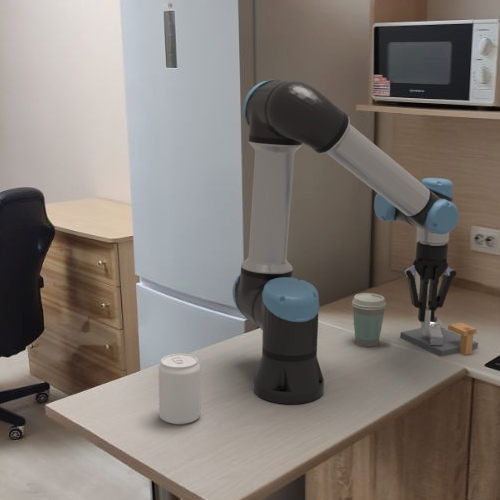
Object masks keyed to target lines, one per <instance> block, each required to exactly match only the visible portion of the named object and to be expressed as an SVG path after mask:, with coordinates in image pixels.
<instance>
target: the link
mask: <svg viewBox="0 0 500 500" xmlns="http://www.w3.org/2000/svg"><path fill="white" fill-rule="evenodd" d="M442 328H443V320H442V319H440V318H438V316H436V315H434V321H433V322H430V329H429V335H428V338H429V343H430V345H442V346H443V335H442Z"/></svg>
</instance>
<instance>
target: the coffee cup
mask: <svg viewBox="0 0 500 500" xmlns="http://www.w3.org/2000/svg"><path fill="white" fill-rule="evenodd" d="M351 302H352V303H351V306H352V311H353V312H352V315H353V327H354V328H353V329H354V340H355V344H356V345H357V346H361V347H367V348H373V347H376V346H379V342H380V337H381V333H382V326H383V322H384V321H383V320H384V316H385V308H387V303H386V299H385V296H383V295H381V294H377V293H372V292H365V293H357V294H355V295H354V296H353V299H352V300H351Z"/></svg>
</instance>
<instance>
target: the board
mask: <svg viewBox="0 0 500 500" xmlns="http://www.w3.org/2000/svg"><path fill="white" fill-rule="evenodd" d="M442 335H443V346H442V345H430V343H429V338H428V335H426V336H424V335H423V334H422V333H421V327H417V328H414V329H409V330H405V331H401V332H400V335H399V337H400V338H401V339H403V340H405V341H407V342H409V343H411V344H413V345H415V346H417V347H420V348H422V349H424V350H426V351H428V352H430V353H433V354H435V355H437V356H439V357H446V356H451V355H453V354H458V353H460V343H461V335H460V334H458V333H455V332H453V331H450V330H448V328H447V329H446V328H444V327H442ZM478 345H479V342H478V341H476V340H473V344H472V350H477V349H478V347H479V346H478Z"/></svg>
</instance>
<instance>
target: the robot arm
mask: <svg viewBox="0 0 500 500" xmlns="http://www.w3.org/2000/svg"><path fill="white" fill-rule="evenodd" d="M242 112H243V118H244V120H245V122H246V124H247V126H248V127H249V128H248V144H250V146H251V148H252V149H253V150H254V161H253V162H254V166H253V180H252V192H251V193H252V196H251V198H252V199H251V213H250V226H249V227H250V229H249V244H248V245H249V246H248V256H247V258H246V259H245V260H243V261H242V262H241V264H240V274H239V275H238V276H236V279H235V280H234V282H233V286H232V299H233V302H234V304H235V306H236V308H237V309H238V311H239V312H240V314H241V315H243V316H244V317H245V318H246V319H247V320H248V321H251V322H252V323H253V324H254V325H255V326H257V327H258V328H259V329H261V331H262V334H261V335H262V337H261V339H262V341H261V343H262V344H261V345H262V348H261V349H262V351H261V357H260V360H259V363H258V366H257V368H256V371H255V374H254V377H253V388H252V389H253V392H254V394H255V395H256V396H258V397H259V398H261V399H263V400H266V401H268V402H271V403H276V404H282V405H296V404H297V405H298V404H299V405H300V404H306V403H310V402H313V401H316V400H318V399H320V398H321V397H322V396H323V394H324V392H325V391H324V390H325V380H324V377H323V373H322V370H321V366H320V363H319V360H318V333H319V312H320V301H319V299H320V298H319V292H318V290H317V288H316V287H315V286H314V285H313V284H312V283H310V282H308V281H306V280H304V279H299V278H296V277H293V271H294V270H293V266H292V265H291V263H290V262H289V261H288V259H287V257H288V244H289V231H290V218H291V205H292V203H291V201H292V192H293V191H292V190H293V189H292V188H293V177H294V164H295V163H294V162H295V154H296V152H297V151H298V150H299V149H300V148H302V146H303V144H304V145H306V146H307V147H309V148H311V149H312V150H313V151H315V152H316V153H317V154H319V155H325V154H327V155H328V156H330V158H332V159H333V160H335V161H336V162H337V163H338V164H340V165H341V166H343V167H344V168H345V169H346V170H347V171H349V173H351V174H353V175H354V176H355V177H356V178H357V179H359V180H360V181H362V182H363V183H364V184H365V185H367V186H368V187H369V188H371V189H372V190H373V191H374V192H376V193H377V194H376V195H375V197H374V203H373V205H374V207H373V209H374V213H375V216H376V217H377V219H379V220H380V221H382V222H390V223H391V222H392V223H393V222H401V223H404V224H408V225H409V226H413V227H417V234H416V235H417V236H416V237H417V242H416V246H415V247H416V248H415V258H414V260H413V262H412V265H411V266H410V267H408V268H407V267H406V268H404V269H403V273H404V274H405V276H406V279H407V285H408V289H409V290H408V291H409V295H410V300H411V304H412V305H413V306H414V308H417V309H418V314H417V318H418V319H417V320H418V321H419V322H420V328H421V333H422V334H423V335H424V336H426V335H429V329H430V322H433V321H434V316H435V312H436V311H437V309H438V308H442V307H444V304H445V300H446V298H447V295H448V291H449V289H450V286H451V283H452V280H453V279H454V278H455V276H456V275H457V271H456V270H455V269H453V268H451V267H449V264H448V263H449V262H448V250H449V245H448V242H449V241H450V232H452V231H454V229H455V227H456V226H457V224H458V221H459V217H460V215H459V210H458V207H457V206H456V204H455V203H453V200H454V184H453V182H452V180H450V179H448V178H440V177H425V178H423V179H422V180H421V182H420V181H419V179H417V178H416V177H414V176H413V174H411V173H410V172H408V170H406V169H405V168H404V167H402V165H400V164H399V163H398V162H396V161H395V160H394V159H393V158H392V157H390V156H389V155H388V154H387V153H386V152H385V151H383V150H382V149H381V148H380V147H378V146H377V145H376V144H375V143H373V142H372V141H371V140H370V139H369V138H368V137H366V136H365V135H364V134H363V133H361V132H360V131H359V130H358V129H357V128H355V127H354V125H351V121H350V120H351V119H350V117H349V115H348V114H347V113H346V112H345V111H343V110H342V109H341V108H339V107H338V106H337V105H336V104H335V103H334V102H332V101H331V100H330V99H329V98H328V97H326V96H325V95H324V94H323V93H322V92H320V91H319V90H318V89H317V88H315V87H313V86H312V85H311V84H309V83H305V82H303V81H299V80H297V81H295V80H281V79H269V80H265V81H262V82H259V83H258V84H256V85H254V86H253V87H252V88H251V89H250V90H249V91H248V92H247V94H246V97H245V98H244V101H243V107H242ZM416 273H417V275H418V276H419V295H418V290H417V289H418V288H417V283H416V279H415V275H416ZM443 274H444V276H443V278H442V281H441V284H440V286H439V283H440V278H441V277H442V275H443ZM438 286H439V289H438ZM428 288H429V289H428Z"/></svg>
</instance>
